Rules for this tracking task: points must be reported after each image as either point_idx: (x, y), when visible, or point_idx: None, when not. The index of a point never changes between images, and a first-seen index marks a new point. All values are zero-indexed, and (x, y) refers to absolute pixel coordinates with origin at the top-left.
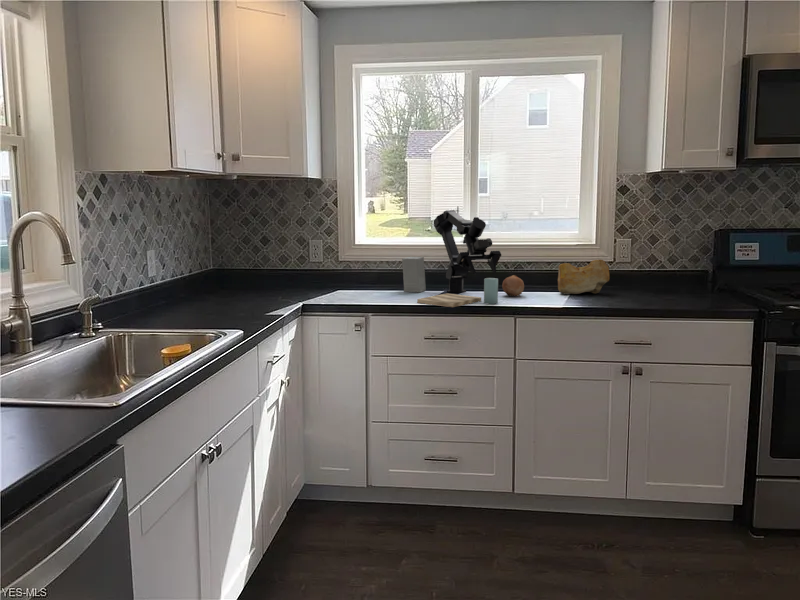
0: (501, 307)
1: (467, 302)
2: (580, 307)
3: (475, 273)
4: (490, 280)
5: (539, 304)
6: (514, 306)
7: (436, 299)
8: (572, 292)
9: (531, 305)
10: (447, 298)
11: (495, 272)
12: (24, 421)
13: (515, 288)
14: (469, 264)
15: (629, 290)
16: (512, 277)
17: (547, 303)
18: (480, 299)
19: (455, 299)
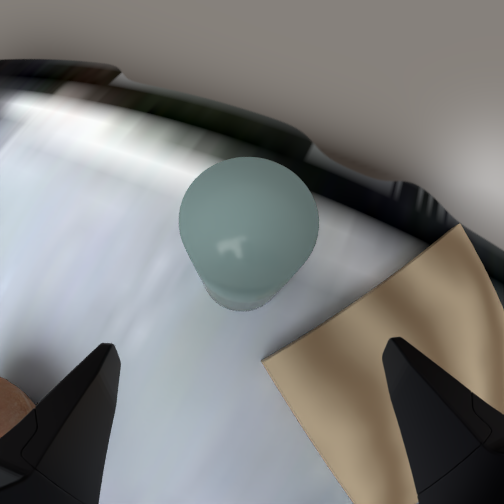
0: (252, 143)
1: (378, 286)
2: (21, 89)
3: (390, 341)
4: (282, 171)
5: (61, 158)
6: (181, 144)
7: (489, 357)
8: None
9: (102, 145)
10: None
11: (109, 347)
12: None
13: (7, 382)
14: (490, 419)
15: None
16: None
17: (25, 171)
18: (269, 356)
19: (427, 334)
